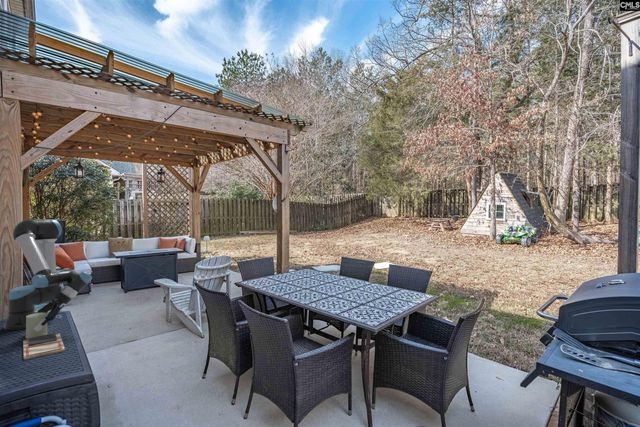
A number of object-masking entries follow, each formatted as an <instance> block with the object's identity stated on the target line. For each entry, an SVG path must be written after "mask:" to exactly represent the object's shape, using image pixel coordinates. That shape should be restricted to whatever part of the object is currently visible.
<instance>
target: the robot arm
mask: <svg viewBox="0 0 640 427" xmlns="http://www.w3.org/2000/svg"><path fill="white" fill-rule="evenodd" d="M62 232H63V228H62V226H61V223H60V222H59V221H58V220H57V219H48V218H47V219H46V218H45V219H44V218H43V219H41V218H39V219H32V218H29V219H24V220H22V221H20V222H18V223H17V224H16V225H15V227H14V228H13V231H12V237H13V240H14V241H15V243H16V244H18V245H19V247H20V249H21V251H22V253H23V255H24V257H25V259H26V261H27V263H28V266H29V267H30V269H31V272H32V273H33V276H32V278H31V284H29V285H21V286H17V287H15V288H12V289H11V290H10V291H9V293H8V297H7V298H8V299H7V300H8V311H7V312H8V315H7V317H6V319H5V322H4V323H3V329H4V330H7V331H15V330H16V331H17V330H24V329H26V316H28V315H31V314H35V313H36V306H42V305H44V304H45V305H44V306H42V307H41V308H39V310H37V313H48V315H47V317H44V319H43V320H42V321H41V322H40V323H39V324H38V325H37V326H36V327H35V328H34V330H36V331H40V330H41V329H42V328H43V327H44V326H45V325H46V324H47V325H48V323H49V322H52V321H54V319H55V318H56V316H57V315H58V314H59V313H60V311H61V310H62V309H63V308H64V307H65V305H68V304H69V302H71V301H72V299H74V297H76V296H78V294H79V293H80V292H81V291H82V290H83V289H84V288H85V287H86V286H87V285H88V284H89V283H90V282H91V281H92V279H93V276H92V275H91V274H89V273H87V271H80V272H77V271H75V270H73V269H72V268H63V269H61V270H60V271H57V263H56V245H55V242H56V241H57V240H58V237H60V236H61V234H62ZM65 284H67V285H65ZM64 285H65V286H64ZM64 304H65V305H64Z"/></svg>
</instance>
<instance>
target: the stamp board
mask: <svg viewBox="0 0 640 427" xmlns="http://www.w3.org/2000/svg"><path fill="white" fill-rule="evenodd" d="M22 343H23V344H22V346H23V361H27V360H31V359H35V358H40V357H45V356H49V355H53V354H58V353H62V352H65V351H66V347H65V345H64V342H63V339H62V337H61V334H60V332H59V333H50V334H49V333H48V334H47V335H43V336H38V337H33V338H28V339H27V338H26V339H23V340H22Z"/></svg>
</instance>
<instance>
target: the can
mask: <svg viewBox="0 0 640 427" xmlns="http://www.w3.org/2000/svg"><path fill="white" fill-rule="evenodd" d="M48 314H49V312H46V313H38V312H35V314H31V315H28V316H26V328H25V337H24V338H25V339H26V340H27V339H28V338H33V337H38V336H43V335H48V323H47V324H46V325H45V326H44V327H43V328H42V329H41V330H40V331H36V330H34V328H35V327H36V326H37V325H38V324H39V323H40V322H41V321H42V320H43V319H44V317H47V315H48Z"/></svg>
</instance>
